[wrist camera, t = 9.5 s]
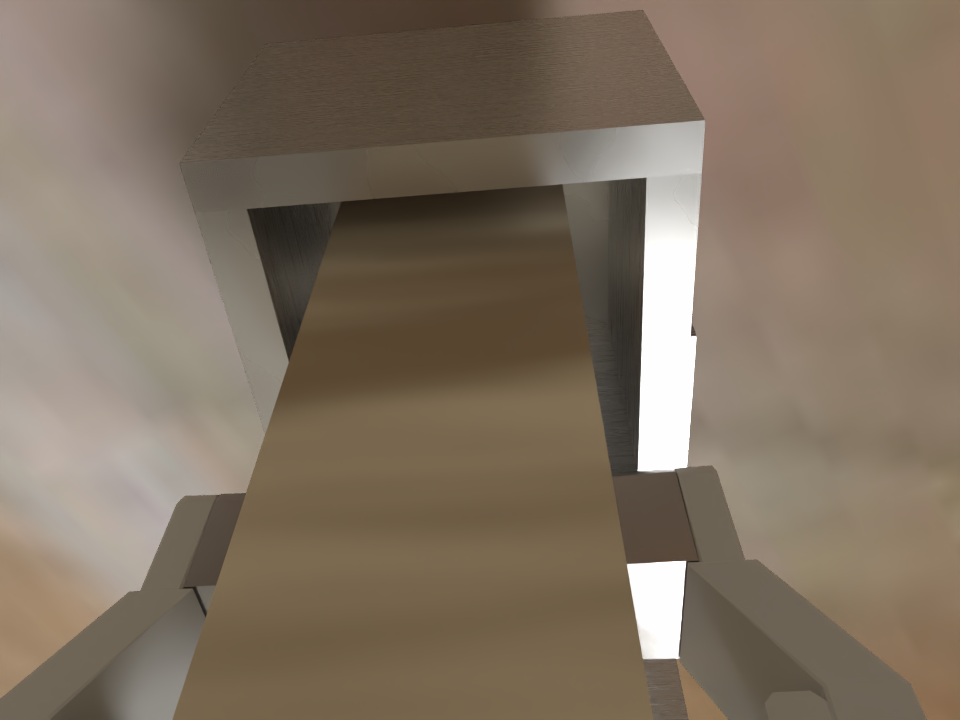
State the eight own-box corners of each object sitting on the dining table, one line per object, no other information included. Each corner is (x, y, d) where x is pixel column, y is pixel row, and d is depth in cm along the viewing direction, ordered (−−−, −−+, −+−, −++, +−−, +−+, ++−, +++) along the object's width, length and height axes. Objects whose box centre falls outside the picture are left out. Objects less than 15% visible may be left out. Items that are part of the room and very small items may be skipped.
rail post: (342, 199, 15) (93, 963, 6) (561, 181, 15) (693, 948, 6) (376, 374, 18) (241, 1131, 8) (568, 361, 18) (667, 1124, 8)
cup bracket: (212, 3, 21) (-33, 240, 11) (712, -43, 20) (924, 165, 10) (346, 518, 31) (282, 869, 22) (676, 499, 30) (763, 854, 21)
